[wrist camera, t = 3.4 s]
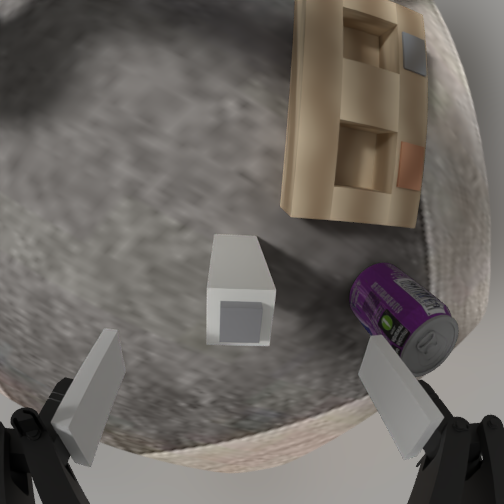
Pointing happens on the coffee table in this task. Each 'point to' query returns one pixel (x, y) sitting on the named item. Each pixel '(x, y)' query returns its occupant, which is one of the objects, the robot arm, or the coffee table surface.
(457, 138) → the coffee table surface
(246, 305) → the plug
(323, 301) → the coffee table surface
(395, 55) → the socket block
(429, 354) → the beverage can
